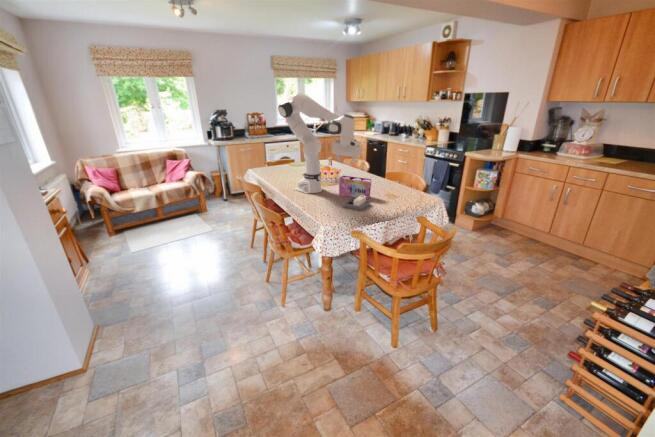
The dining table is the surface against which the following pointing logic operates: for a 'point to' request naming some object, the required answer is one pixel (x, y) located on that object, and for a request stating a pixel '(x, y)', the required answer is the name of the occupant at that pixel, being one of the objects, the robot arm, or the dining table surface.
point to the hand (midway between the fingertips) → (345, 162)
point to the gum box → (354, 186)
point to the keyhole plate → (350, 205)
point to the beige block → (359, 200)
